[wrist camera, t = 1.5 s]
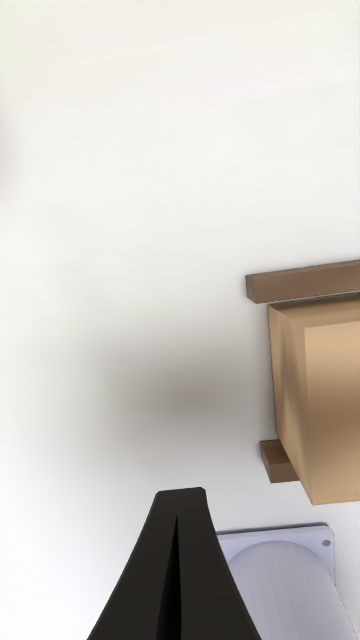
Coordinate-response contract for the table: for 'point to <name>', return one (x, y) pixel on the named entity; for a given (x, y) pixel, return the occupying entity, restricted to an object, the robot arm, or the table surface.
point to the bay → (293, 287)
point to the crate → (319, 392)
